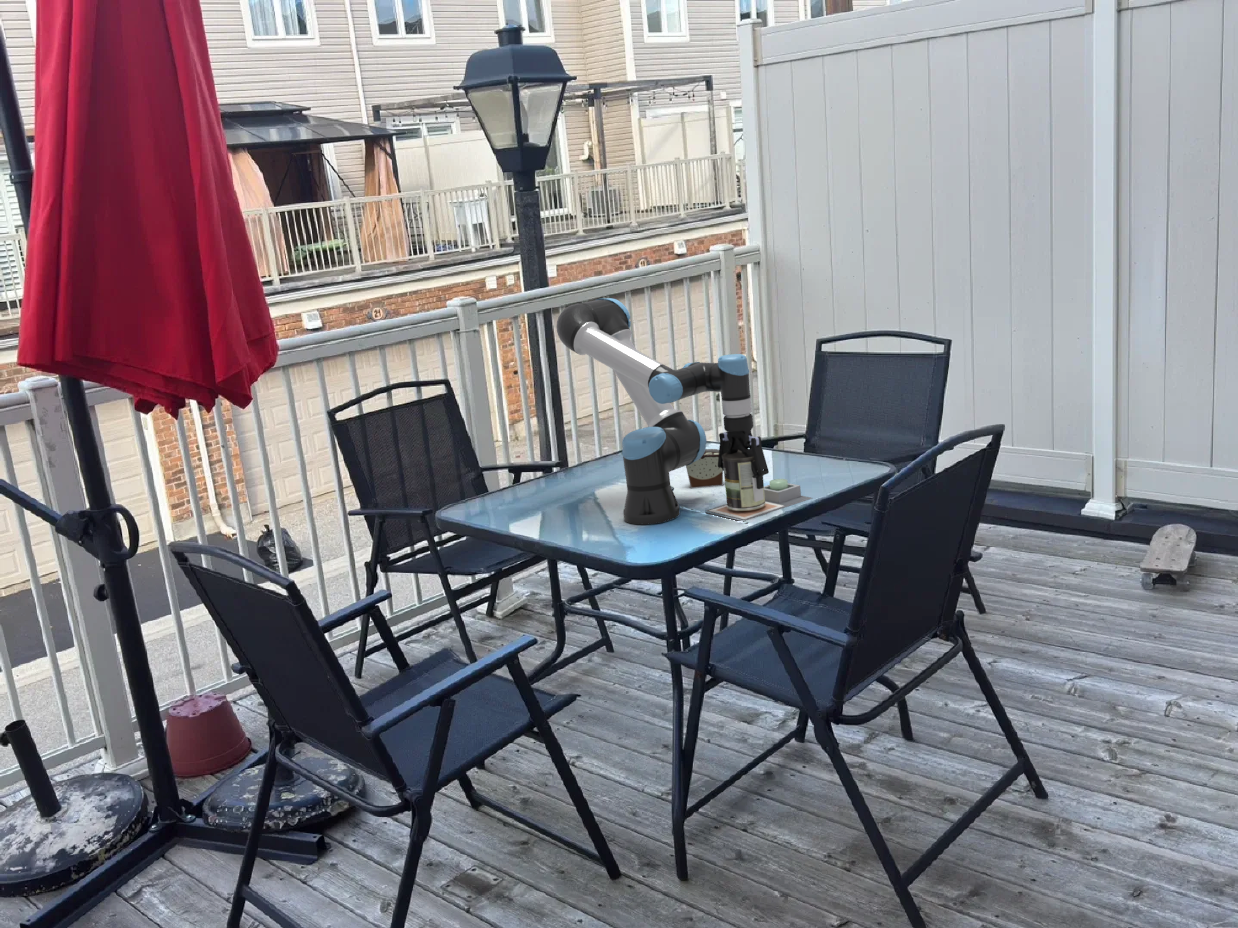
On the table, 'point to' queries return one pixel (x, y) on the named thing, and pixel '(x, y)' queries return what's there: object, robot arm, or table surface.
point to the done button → (778, 484)
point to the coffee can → (739, 482)
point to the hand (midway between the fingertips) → (745, 497)
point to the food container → (705, 470)
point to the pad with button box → (772, 500)
